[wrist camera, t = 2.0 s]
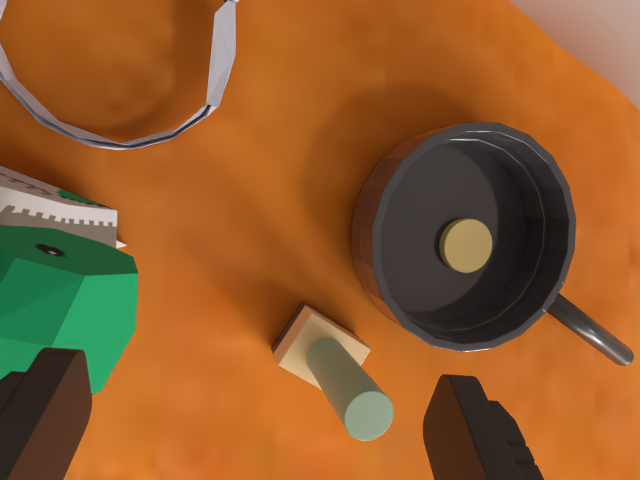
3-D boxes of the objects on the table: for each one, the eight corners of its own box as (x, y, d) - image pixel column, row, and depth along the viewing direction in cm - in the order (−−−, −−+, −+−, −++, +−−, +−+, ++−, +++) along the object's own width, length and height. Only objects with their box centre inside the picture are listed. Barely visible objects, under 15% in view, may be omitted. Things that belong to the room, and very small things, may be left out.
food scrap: (429, 252, 34) (434, 254, 33) (458, 207, 34) (464, 208, 34) (467, 280, 35) (473, 282, 35) (495, 236, 36) (501, 238, 35)
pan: (308, 264, 32) (325, 277, 28) (426, 86, 33) (460, 72, 29) (462, 365, 37) (497, 389, 32) (563, 205, 37) (611, 209, 33)
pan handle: (526, 298, 35) (541, 304, 33) (537, 280, 35) (553, 285, 33) (613, 364, 38) (631, 372, 36) (624, 348, 38) (642, 355, 36)
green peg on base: (270, 348, 33) (305, 429, 22) (302, 300, 33) (352, 357, 22) (326, 381, 34) (385, 471, 23) (356, 335, 34) (428, 404, 24)
